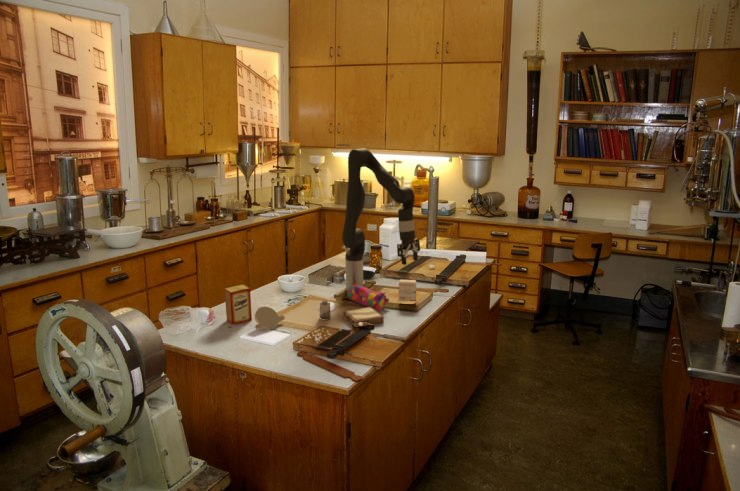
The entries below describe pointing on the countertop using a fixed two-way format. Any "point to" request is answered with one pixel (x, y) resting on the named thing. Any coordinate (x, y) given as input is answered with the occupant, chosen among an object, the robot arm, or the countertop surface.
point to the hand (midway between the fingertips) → (410, 262)
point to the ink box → (407, 290)
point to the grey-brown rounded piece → (267, 318)
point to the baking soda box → (238, 304)
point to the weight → (325, 310)
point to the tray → (363, 316)
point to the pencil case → (367, 297)
